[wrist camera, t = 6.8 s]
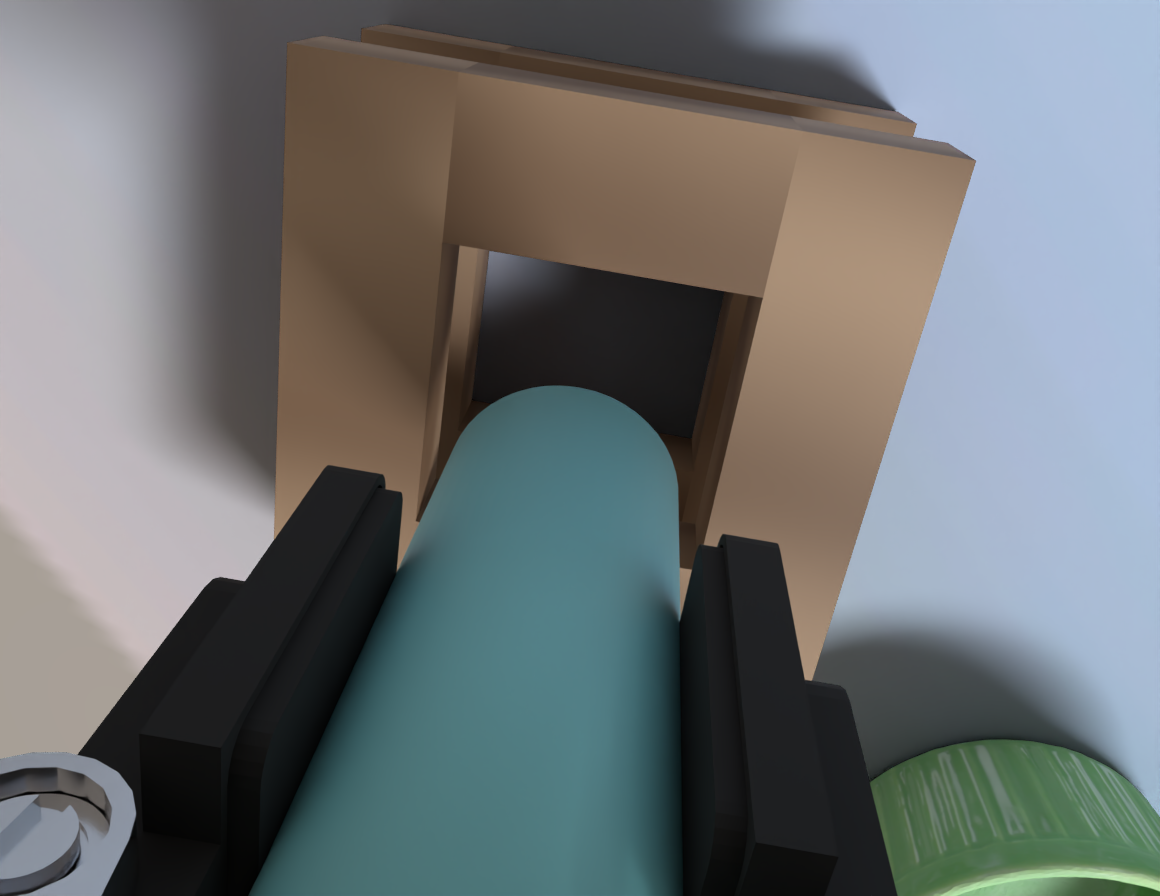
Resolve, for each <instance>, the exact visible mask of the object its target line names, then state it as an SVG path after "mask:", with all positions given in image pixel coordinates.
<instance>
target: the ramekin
mask: <svg viewBox="0 0 1160 896" xmlns="http://www.w3.org/2000/svg"><path fill="white" fill-rule="evenodd" d="M870 786H871V790H872V794H873V798H874V802H875V806H876V810H877V814H878V818H879V822H880V826H881V830H882V834H883V838H884V842H885V846H886V850H887V854H888V858H889V863H890V867H891V871H892V875H893V879H894V883H895V887H896V891H897V895H898V896H1160V817H1159V815H1158V814H1157V813H1156V811H1155V810H1154V809H1153V808H1152V806H1151V805H1150V804H1149V802H1148V801H1147V799H1146V798H1145V797H1144V796H1143V795H1142V794H1141V793H1140V792H1139V791H1138V790H1137V789H1136V788H1135V787H1134V786H1133V785H1132V784H1131V783H1130V782H1129V781H1128V780H1127V779H1125V778H1124V777H1122V776H1121V775H1120V774H1118V773H1117V772H1115V771H1114V770H1112V769H1111V768H1109V767H1108V766H1106V765H1104V764H1102V763H1100V762H1098V761H1096V760H1094V759H1092V758H1089V757H1087V756H1085V755H1083V754H1081V753H1079V752H1076V751H1072V750H1069V749H1066V748H1063V747H1059V746H1052V745H1049V744H1044V743H1039V742H1033V741H1024V740H1007V739H998V740H980V741H972V742H965V743H959V744H954V745H950V746H946V747H942V748H938V749H934V750H931V751H928V752H926V753H924V754H921V755H919V756H916V757H914V758H911V759H909V760H907V761H905V762H902V763H900V764H898V765H897V766H895V767H893V768H891V769H889V770H888V771H886V772H884V773H883V774H881V775H880V776H878V777H877V778H875V779H874V780H872V781H871V782H870Z"/></svg>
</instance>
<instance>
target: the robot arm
mask: <svg viewBox="0 0 1160 896" xmlns="http://www.w3.org/2000/svg"><path fill="white" fill-rule="evenodd" d="M402 505H403V497H402V493H401V492H399V491H393V490H387V489H386V484H385V477H384V475H383V474H378V473H373V472H367V471H361V470H355V469H350V468H344V467H338V466H333V465H327V466H326V467H325V468H324V469H323V471H322V472H321V474H320V475H319V476H318V478H317V479H316V481H315V482H314V484H313V485H312V487H311V488H310V489H309V491H308V492H307V494H306V495H305V497H304V498H303V499H302V501H301V502H300V504H299V505H298V507H297V508H296V509H295V511H294V512H293V514H292V515H291V517H290V518H289V519H288V521H287V522H286V524H285V525H284V527H283V528H282V529H281V531H280V532H279V534H278V535H277V537H276V538H275V539H274V541H273V542H272V544H271V545H270V547H269V548H268V549H267V551H266V552H265V554H264V555H263V557H262V558H261V559H260V561H259V562H258V564H257V565H256V567H255V568H254V569H253V571H252V572H251V574H250V575H249V577H248V578H247V579H246V581H240V580H234V579H228V578H223V577H219V578H215V579H213V580H212V581H211V582H210V583H209V584H207V585H206V586H205V587H204V589H203V590H202V591H201V593H200V594H199V595H198V597H197V598H196V599H195V601H194V602H193V603H192V604H191V606H190V607H189V608H188V610H187V611H186V612H185V614H184V615H183V616H182V618H181V619H180V620H179V622H178V623H177V624H176V626H175V627H174V628H173V630H172V631H171V632H170V633H169V635H168V636H167V637H166V639H165V640H164V641H163V643H162V644H161V645H160V647H159V648H158V649H157V651H156V652H155V653H154V655H153V656H152V657H151V659H150V660H149V661H148V662H147V664H146V665H145V666H144V668H143V669H142V670H141V672H140V673H139V674H138V676H137V677H136V678H135V680H134V681H133V682H132V684H131V685H130V686H129V688H128V689H127V690H126V691H125V693H124V694H123V695H122V697H121V698H120V699H119V701H118V702H117V703H116V705H115V706H114V707H113V709H112V710H111V711H110V713H109V714H108V715H107V716H106V718H105V719H104V720H103V722H102V723H101V724H100V726H99V727H98V728H97V730H96V731H95V733H94V734H93V735H92V736H91V738H90V739H89V740H88V742H87V743H86V744H85V745H84V747H83V748H82V749H81V751H80V752H79V754H78V755H75V754H71V753H67V752H66V753H65V752H58V753H57V752H55V753H53V752H52V753H51V752H50V753H48V752H47V753H46V752H45V753H44V752H43V753H28V754H23V755H17V756H12V757H7V758H3V759H0V896H248V895H249V893H250V891H251V889H252V887H253V885H254V883H255V881H256V879H257V877H258V875H259V873H260V871H261V869H262V866H263V864H264V862H265V860H266V858H267V856H268V853H269V851H270V849H271V847H272V845H273V842H274V840H275V838H276V836H277V834H278V831H279V829H280V827H281V825H282V823H283V821H284V818H285V816H286V814H287V812H288V810H289V807H290V805H291V803H292V801H293V799H294V796H295V794H296V792H297V790H298V788H299V786H300V783H301V781H302V779H303V777H304V775H305V772H306V770H307V768H308V766H309V764H310V762H311V759H312V757H313V755H314V753H315V751H316V748H317V746H318V744H319V742H320V740H321V737H322V735H323V733H324V731H325V729H326V727H327V724H328V722H329V720H330V718H331V716H332V713H333V711H334V709H335V707H336V705H337V702H338V700H339V698H340V696H341V694H342V692H343V689H344V687H345V685H346V683H347V681H348V678H349V676H350V674H351V672H352V670H353V668H354V665H355V663H356V661H357V659H358V657H359V654H360V652H361V650H362V648H363V646H364V643H365V641H366V639H367V637H368V635H369V633H370V630H371V628H372V626H373V624H374V622H375V619H376V617H377V615H378V613H379V611H380V609H381V606H382V604H383V602H384V600H385V598H386V595H387V593H388V591H389V589H390V587H391V584H392V582H393V580H394V578H395V576H396V573H397V562H398V551H399V540H400V529H401V518H402ZM679 635H680V705H681V775H682V845H683V896H898V895H897V891H896V887H895V883H894V879H893V875H892V871H891V867H890V863H889V858H888V854H887V850H886V846H885V842H884V838H883V834H882V830H881V826H880V822H879V818H878V814H877V810H876V806H875V802H874V798H873V794H872V790H871V786H870V782H869V777H868V773H867V769H866V765H865V761H864V757H863V753H862V749H861V745H860V741H859V737H858V733H857V729H856V725H855V721H854V717H853V713H852V709H851V705H850V701H849V698H848V696H847V693H846V690H845V689H843V688H842V687H841V686H838V685H832V684H827V683H821V682H815V681H810V680H805V678H804V672H803V667H802V662H801V657H800V651H799V646H798V641H797V636H796V630H795V625H794V620H793V615H792V610H791V604H790V599H789V594H788V589H787V583H786V578H785V573H784V568H783V562H782V557H781V552H780V548H779V545H778V543H774V542H768V541H762V540H757V539H751V538H745V537H740V536H734V535H728V534H722V536H721V537H720V540H719V542H718V545H717V547H714V546H708V545H703V544H700V545H699V546H698V549H697V551H696V555H695V559H694V563H693V567H692V571H691V576H690V580H689V584H688V588H687V593H686V597H685V601H684V605H683V609H682V614H681V618H680V622H679Z"/></svg>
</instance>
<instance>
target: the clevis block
mask: <svg viewBox="0 0 1160 896" xmlns="http://www.w3.org/2000/svg"><path fill="white" fill-rule="evenodd" d="M916 125H917V124H916V123H915V122H913V121H912V120H910V119H908V118H907V117H905V116H904V115H902V114H900V113H899V112H896V111H890V110H884V109H878V108H872V107H866V106H861V105H855V104H849V103H843V102H837V101H831V100H826V99H820V98H814V97H808V96H802V95H796V94H791V93H785V92H779V91H773V90H767V89H761V88H756V87H750V86H744V85H738V84H732V83H726V82H721V81H715V80H709V79H703V78H697V77H691V76H686V75H680V74H674V73H668V72H662V71H657V70H651V69H645V68H639V67H633V66H627V65H622V64H616V63H610V62H604V61H598V60H592V59H587V58H581V57H575V56H569V55H563V54H557V53H552V52H546V51H540V50H534V49H528V48H522V47H517V46H511V45H505V44H499V43H493V42H487V41H482V40H476V39H470V38H464V37H458V36H452V35H447V34H441V33H435V32H429V31H423V30H417V29H412V28H406V27H400V26H394V25H388V24H383V25H377V26H372V27H367V28H362V29H361V42H357V41H351V40H345V39H339V38H333V37H327V36H319V37H314V38H308V39H303V40H298V41H292V42H287V67H286V105H285V143H284V181H283V219H282V257H281V295H280V333H279V371H278V409H277V447H276V485H275V523H274V539H275V538H276V537H277V535H278V534H279V532H280V531H281V529H282V528H283V527H284V525H285V524H286V522H287V521H288V519H289V518H290V517H291V515H292V514H293V512H294V511H295V509H296V508H297V507H298V505H299V504H300V502H301V501H302V499H303V498H304V497H305V495H306V494H307V492H308V491H309V489H310V488H311V487H312V485H313V484H314V482H315V481H316V479H317V478H318V476H319V475H320V474H321V472H322V471H323V469H324V468H325V467H326V466H327V465H333V466H338V467H344V468H350V469H355V470H361V471H367V472H373V473H378V474H383V475H384V477H385V484H386V489H387V490H393V491H399V492H401V493H402V497H403V505H402V518H401V529H400V540H399V551H398V562H397V570H398V568H399V566H400V564H401V562H402V559H403V557H404V555H405V553H406V551H407V549H408V546H409V544H410V542H411V540H412V538H413V535H414V533H415V531H416V529H417V527H418V525H419V522H420V520H421V518H422V516H423V514H424V511H425V509H426V507H427V505H428V503H429V501H430V498H431V496H432V494H433V492H434V490H435V487H436V485H437V483H438V481H439V479H440V477H441V474H442V472H443V470H444V468H445V466H446V463H447V461H448V459H449V457H450V455H451V453H452V450H453V448H454V446H455V444H456V442H457V441H458V439H459V437H460V435H461V434H462V432H463V431H464V429H465V428H466V427H467V425H468V424H469V423H470V422H471V421H472V420H473V419H474V418H475V417H476V416H477V415H478V414H479V413H480V412H481V411H483V410H484V409H485V408H487V407H488V406H489V405H491V404H489V403H484V402H478V401H472V394H473V385H474V377H475V368H476V360H477V351H478V342H479V334H480V325H481V317H482V308H483V300H484V291H485V282H486V274H487V265H488V257H489V251H495V252H501V253H506V254H512V255H518V256H524V257H530V258H535V259H541V260H547V261H553V262H558V263H564V264H570V265H576V266H582V267H587V268H593V269H599V270H605V271H610V272H616V273H622V274H628V275H634V276H639V277H645V278H651V279H657V280H662V281H668V282H674V283H680V284H686V285H691V286H697V287H703V288H709V289H714V290H720V291H724V296H723V300H722V305H721V309H720V314H719V318H718V323H717V327H716V332H715V336H714V341H713V345H712V350H711V354H710V359H709V363H708V368H707V372H706V377H705V381H704V386H703V390H702V395H701V399H700V404H699V408H698V413H697V417H696V421H695V426H694V430H693V435H692V439H690V438H685V437H679V436H673V435H667V434H662V433H657V434H658V435H659V437H660V438H661V440H662V441H663V443H664V445H665V446H666V448H667V450H668V452H669V454H670V457H671V459H672V461H673V465H674V468H675V471H676V476H677V482H678V503H679V565H680V618H681V614H682V609H683V605H684V601H685V597H686V593H687V588H688V584H689V580H690V576H691V571H692V567H693V563H694V559H695V555H696V551H697V549H698V546H699V545H700V544H703V545H708V546H714V547H717V545H718V542H719V540H720V537H721V536H722V534H728V535H734V536H740V537H745V538H751V539H757V540H762V541H768V542H774V543H778V545H779V548H780V552H781V557H782V562H783V568H784V573H785V578H786V583H787V589H788V594H789V599H790V604H791V610H792V615H793V620H794V625H795V630H796V636H797V641H798V646H799V651H800V657H801V662H802V667H803V672H804V678H805V680H810V681H812V679H813V676H814V672H815V669H816V666H817V663H818V660H819V657H820V653H821V650H822V647H823V644H824V641H825V638H826V634H827V631H828V628H829V625H830V622H831V619H832V615H833V612H834V609H835V606H836V603H837V600H838V596H839V593H840V590H841V587H842V584H843V581H844V577H845V574H846V571H847V568H848V565H849V562H850V558H851V555H852V552H853V549H854V546H855V543H856V539H857V536H858V533H859V530H860V527H861V524H862V520H863V517H864V514H865V511H866V508H867V505H868V501H869V498H870V495H871V492H872V489H873V486H874V482H875V479H876V476H877V473H878V470H879V467H880V463H881V460H882V457H883V454H884V451H885V448H886V444H887V441H888V438H889V435H890V432H891V429H892V425H893V422H894V419H895V416H896V413H897V410H898V406H899V403H900V400H901V397H902V394H903V391H904V387H905V384H906V381H907V378H908V375H909V372H910V369H911V365H912V362H913V359H914V356H915V353H916V350H917V346H918V343H919V340H920V337H921V334H922V331H923V327H924V324H925V321H926V318H927V315H928V312H929V308H930V305H931V302H932V299H933V296H934V293H935V289H936V286H937V283H938V280H939V277H940V274H941V270H942V267H943V264H944V261H945V258H946V255H947V251H948V248H949V245H950V242H951V239H952V236H953V232H954V229H955V226H956V223H957V220H958V217H959V213H960V210H961V207H962V204H963V201H964V198H965V194H966V191H967V188H968V185H969V182H970V179H971V175H972V172H973V169H974V166H975V163H976V160H974V159H972V158H971V157H969V156H968V155H966V154H964V153H963V152H961V151H960V150H958V149H956V148H955V147H953V146H952V145H950V144H948V143H945V142H939V141H933V140H927V139H922V138H916V137H913V135H914V132H915V128H916Z"/></svg>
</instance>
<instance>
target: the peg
mask: <svg viewBox="0 0 1160 896" xmlns="http://www.w3.org/2000/svg"><path fill="white" fill-rule="evenodd" d="M679 622H680V565H679V503H678V482H677V476H676V471H675V468H674V465H673V461H672V459H671V457H670V454H669V452H668V450H667V448H666V446H665V445H664V443H663V441H662V440H661V438H660V437H659V435H658V434H657V433H656V432H655V430H654V429H653V428H652V427H651V426H650V425H649V423H648V422H646V421H645V420H644V419H643V418H642V417H641V416H640V415H639V414H638V413H636V412H635V411H633V410H632V409H631V408H629V407H628V406H626V405H625V404H623V403H621V402H619V401H617V400H615V399H613V398H612V397H610V396H607V395H604V394H601V393H599V392H596V391H593V390H588V389H584V388H580V387H572V386H541V387H534V388H529V389H525V390H522V391H518V392H515V393H513V394H510V395H508V396H505V397H503V398H501V399H499V400H498V401H496V402H494V403H492V404H491V405H489V406H488V407H487V408H485V409H484V410H483V411H481V412H480V413H479V414H478V415H477V416H476V417H475V418H474V419H473V420H472V421H471V422H470V423H469V424H468V425H467V427H466V428H465V429H464V431H463V432H462V434H461V435H460V437H459V439H458V441H457V442H456V444H455V446H454V448H453V450H452V453H451V455H450V457H449V459H448V461H447V463H446V466H445V468H444V470H443V472H442V474H441V477H440V479H439V481H438V483H437V485H436V487H435V490H434V492H433V494H432V496H431V498H430V501H429V503H428V505H427V507H426V509H425V511H424V514H423V516H422V518H421V520H420V522H419V525H418V527H417V529H416V531H415V533H414V535H413V538H412V540H411V542H410V544H409V546H408V549H407V551H406V553H405V555H404V557H403V559H402V562H401V564H400V566H399V568H398V570H397V573H396V576H395V578H394V580H393V582H392V584H391V587H390V589H389V591H388V593H387V595H386V598H385V600H384V602H383V604H382V606H381V609H380V611H379V613H378V615H377V617H376V619H375V622H374V624H373V626H372V628H371V630H370V633H369V635H368V637H367V639H366V641H365V643H364V646H363V648H362V650H361V652H360V654H359V657H358V659H357V661H356V663H355V665H354V668H353V670H352V672H351V674H350V676H349V678H348V681H347V683H346V685H345V687H344V689H343V692H342V694H341V696H340V698H339V700H338V702H337V705H336V707H335V709H334V711H333V713H332V716H331V718H330V720H329V722H328V724H327V727H326V729H325V731H324V733H323V735H322V737H321V740H320V742H319V744H318V746H317V748H316V751H315V753H314V755H313V757H312V759H311V762H310V764H309V766H308V768H307V770H306V772H305V775H304V777H303V779H302V781H301V783H300V786H299V788H298V790H297V792H296V794H295V796H294V799H293V801H292V803H291V805H290V807H289V810H288V812H287V814H286V816H285V818H284V821H283V823H282V825H281V827H280V829H279V831H278V834H277V836H276V838H275V840H274V842H273V845H272V847H271V849H270V851H269V853H268V856H267V858H266V860H265V862H264V864H263V866H262V869H261V871H260V873H259V875H258V877H257V879H256V881H255V883H254V885H253V887H252V889H251V891H250V893H249V895H248V896H683V845H682V775H681V705H680V635H679Z"/></svg>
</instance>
